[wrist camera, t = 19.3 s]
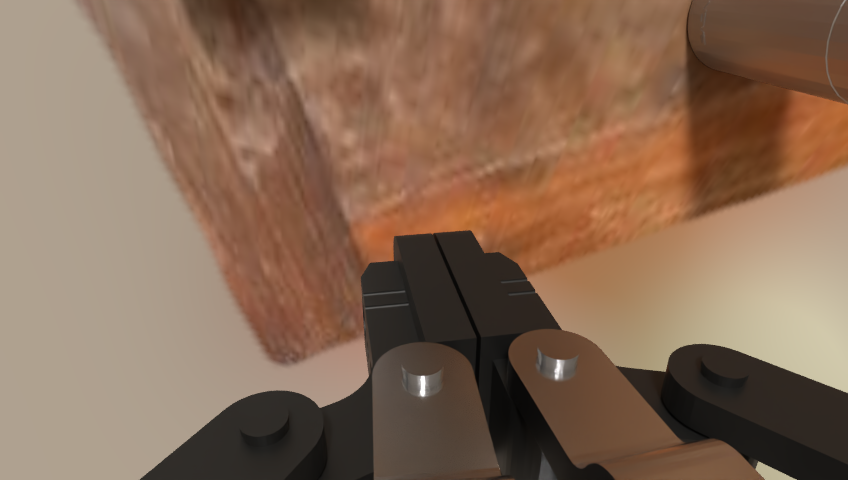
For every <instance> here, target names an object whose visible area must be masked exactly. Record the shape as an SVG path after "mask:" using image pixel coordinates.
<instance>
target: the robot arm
mask: <svg viewBox="0 0 848 480" xmlns="http://www.w3.org/2000/svg"><path fill="white" fill-rule="evenodd" d="M688 36H689V41H690V44H691V47H692V50H693V52H694V53H695V55H696V56H697V58H698V59H699V60H700V61H701V62H702V63H703V64H704V65H706V66H708V67H710V68H712V69H714V70H718V71H722V72H726V73H730V74H734V75H737V76H741V77H744V78H748V79H752V80H756V81H759V82H763V83H767V84H771V85H775V86H779V87H783V88H786V89H790V90H794V91H798V92H802V93H806V94H810V95H813V96H817V97H821V98H825V99H829V100H833V101H837V102H841V103H844V104H848V0H693V1H692V5H691V8H690V12H689V18H688ZM361 287H362V304H363V320H364V336H365V348H366V356H367V362H368V372H369V377H368V379H367V380H366V382H365V383H364V384H363V385H362V386H361V387H360V388H359V389H358V390H357V391H356V392H354V393H353V394H351V395H350V396H348V397H346V398H344V399H342V400H340V401H338V402H335V403H333V404H330V405H327V406H325V407H322V408H319V407H318V406H317V404H316V403H315V402H314V401H312V400H311V399H310V398H308V397H306V396H304V395H302V394H299V393H295V392H290V391H267V392H262V393H258V394H254V395H251V396H248V397H246V398H243V399H241V400H239V401H237V402H235V403H234V404H232V405H230V406H229V407H228V408H226V409H225V410H224V411H222V412H221V413H220V414H219V415H218V416H216V417H215V418H214V419H213V420H211V421H210V422H209V423H208V424H207V425H205V426H204V427H203V428H202V429H201V430H199V431H198V432H197V433H196V434H194V435H193V436H192V437H191V438H190V439H188V440H187V441H186V442H185V443H184V444H182V445H181V446H180V447H179V448H177V449H176V450H175V451H174V452H173V453H171V454H170V455H169V456H168V457H167V458H165V459H164V460H163V461H162V462H161V463H159V464H158V465H157V466H156V467H155V468H154V469H152V470H151V471H150V472H148V473H147V474H146V475H145V476H144V477H143V478H141V479H140V480H765V479H764V478H763V477H762V476H761V475H760V474H759V473H758V472H757V471H756V470H755V468H756V466H757V463H758V461H759V462H761V463H763V464H765V465H768V466H770V467H772V468H774V469H776V470H778V471H780V472H782V473H784V474H786V475H788V476H790V477H792V478H795V479H797V480H848V393H846V392H843V391H841V390H838V389H835V388H833V387H830V386H827V385H825V384H822V383H819V382H816V381H814V380H812V379H809V378H806V377H804V376H801V375H799V374H796V373H793V372H791V371H788V370H785V369H783V368H780V367H778V366H775V365H772V364H770V363H767V362H765V361H762V360H759V359H757V358H754V357H751V356H749V355H746V354H743V353H741V352H738V351H735V350H732V349H729V348H725V347H721V346H716V345H709V344H693V345H687V346H684V347H680V348H679V349H677V350H676V351H674V352H673V353H672V354H671V355H670V357H669V361H668V365H667V369H666V372H661V371H653V370H643V369H634V368H625V367H619V366H615V365H614V364H613V363H612V362H611V360H610V359H609V358H608V357H607V356H606V355H605V354H604V352H603V351H602V350H601V349H600V348H599V347H598V346H597V345H596V344H594V343H593V342H592V341H590V340H588V339H587V338H585V337H582V336H580V335H578V334H575V333H572V332H568V331H563V330H562V329H561V328H560V326H559V325H558V323H557V322H556V321H555V319H554V317H553V316H552V315H551V313H550V311H549V310H548V309H547V307H546V306H545V304H544V303H543V301H542V300H541V298H540V297H539V295H538V294H537V293H535V289H534V288H533V286H532V285H531V283H530V282H529V281H527V277H526V276H525V274H524V273H523V271H522V270H521V268H520V267H519V265H518V264H517V263H515V262H514V261H512V260H511V259H509V258H507V257H506V256H504V255H503V254H501V253H499V252H496V253H484V252H483V250H482V248H481V247H480V245H479V243H478V241H477V240H476V238H475V236H474V235H473V233H472V231H470V230H468V231H455V232H442V233H434V234H433V235H432V234H431V233H430V234H417V235H404V236H394V261H388V262H376V263H370V264H369V266H368V267H367V269H366V270H365V272H364V273H363V275H362V276H361ZM498 465H499V466H498ZM499 468H500V470H499Z"/></svg>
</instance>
